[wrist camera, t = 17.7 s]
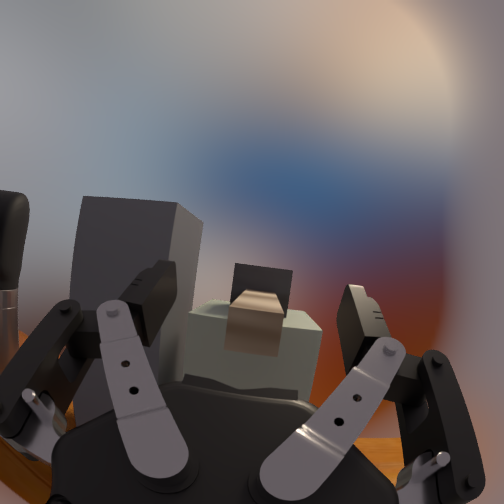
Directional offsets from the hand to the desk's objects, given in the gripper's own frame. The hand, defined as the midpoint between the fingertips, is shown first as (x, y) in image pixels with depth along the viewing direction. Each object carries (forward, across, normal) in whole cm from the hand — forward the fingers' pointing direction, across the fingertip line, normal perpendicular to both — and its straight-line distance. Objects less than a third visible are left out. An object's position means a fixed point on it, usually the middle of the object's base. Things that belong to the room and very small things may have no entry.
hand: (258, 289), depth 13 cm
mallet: (+9, 0, +9) cm, 13 cm away
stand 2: (+2, 0, +31) cm, 31 cm away
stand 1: (+4, +15, +32) cm, 35 cm away
